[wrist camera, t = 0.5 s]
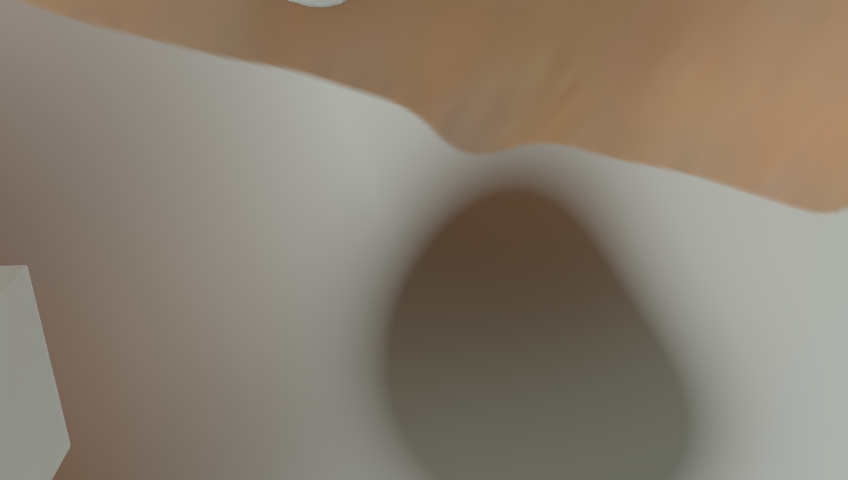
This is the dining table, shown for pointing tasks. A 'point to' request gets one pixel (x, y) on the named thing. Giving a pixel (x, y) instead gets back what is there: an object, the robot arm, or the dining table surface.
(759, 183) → the dining table surface
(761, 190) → the dining table surface
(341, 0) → the electronic device
